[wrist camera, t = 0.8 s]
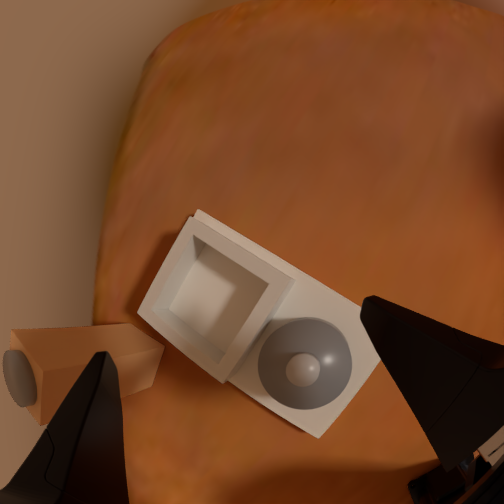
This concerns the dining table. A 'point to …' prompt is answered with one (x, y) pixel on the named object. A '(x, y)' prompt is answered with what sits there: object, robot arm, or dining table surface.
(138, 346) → the block
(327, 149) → the dining table surface
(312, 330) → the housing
